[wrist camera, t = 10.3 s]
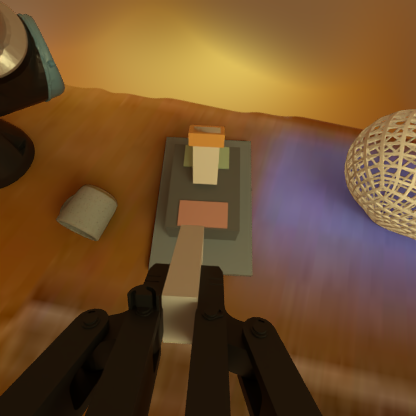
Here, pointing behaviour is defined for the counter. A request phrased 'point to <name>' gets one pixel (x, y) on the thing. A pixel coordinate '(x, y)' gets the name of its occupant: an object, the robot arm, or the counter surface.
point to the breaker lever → (206, 152)
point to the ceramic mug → (88, 211)
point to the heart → (354, 188)
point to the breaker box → (206, 207)
